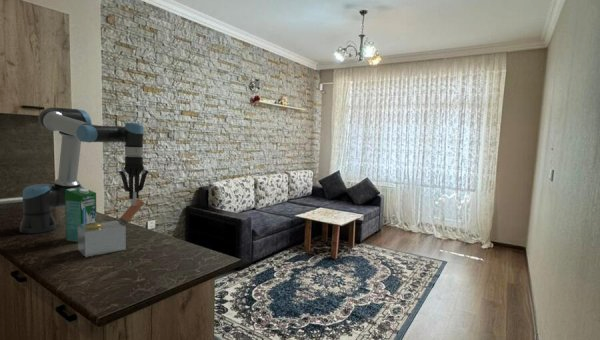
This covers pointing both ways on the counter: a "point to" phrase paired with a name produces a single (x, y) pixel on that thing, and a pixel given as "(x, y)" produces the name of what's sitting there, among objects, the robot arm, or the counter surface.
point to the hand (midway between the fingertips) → (133, 205)
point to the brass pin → (94, 225)
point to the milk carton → (79, 210)
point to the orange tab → (131, 212)
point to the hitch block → (102, 239)
